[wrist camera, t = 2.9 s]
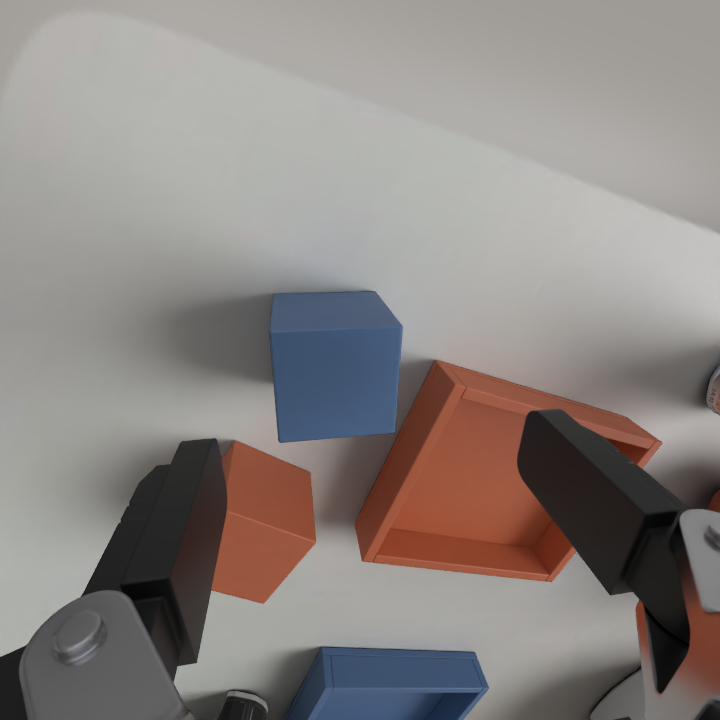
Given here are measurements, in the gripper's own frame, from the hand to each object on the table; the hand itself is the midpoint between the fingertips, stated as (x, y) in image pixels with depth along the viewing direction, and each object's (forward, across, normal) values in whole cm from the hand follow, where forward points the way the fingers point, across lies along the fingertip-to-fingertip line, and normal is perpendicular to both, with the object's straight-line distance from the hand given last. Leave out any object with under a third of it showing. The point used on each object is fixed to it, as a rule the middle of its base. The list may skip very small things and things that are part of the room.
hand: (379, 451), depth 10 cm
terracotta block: (+8, +5, +8) cm, 13 cm away
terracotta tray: (+8, -9, +9) cm, 15 cm away
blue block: (+8, +1, 0) cm, 8 cm away
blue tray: (+8, -2, +31) cm, 33 cm away
